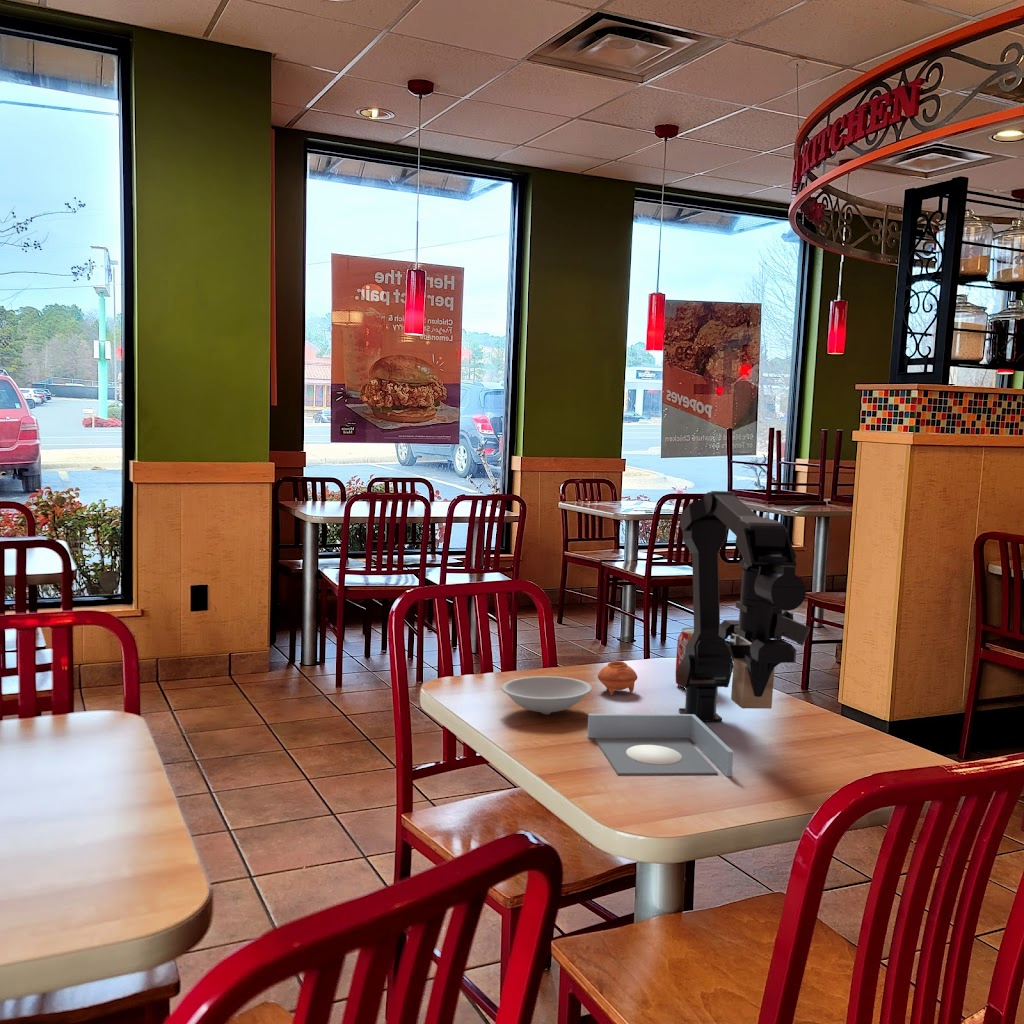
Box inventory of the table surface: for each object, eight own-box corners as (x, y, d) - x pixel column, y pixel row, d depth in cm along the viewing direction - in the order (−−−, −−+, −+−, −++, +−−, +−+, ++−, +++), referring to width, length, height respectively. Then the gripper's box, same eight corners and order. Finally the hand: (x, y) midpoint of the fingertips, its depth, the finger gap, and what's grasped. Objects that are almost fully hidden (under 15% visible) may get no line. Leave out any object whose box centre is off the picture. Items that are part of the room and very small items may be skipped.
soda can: (709, 693, 195) (712, 635, 194) (674, 689, 197) (677, 632, 196) (709, 684, 202) (712, 628, 201) (675, 681, 204) (678, 625, 203)
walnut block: (731, 699, 160) (733, 658, 159) (759, 699, 161) (762, 658, 160) (742, 708, 155) (745, 666, 154) (771, 708, 156) (774, 666, 155)
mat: (595, 740, 163) (595, 737, 163) (685, 740, 165) (685, 737, 165) (617, 775, 147) (618, 772, 147) (717, 774, 150) (717, 771, 150)
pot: (633, 699, 188) (626, 665, 188) (596, 702, 191) (590, 668, 191) (645, 688, 195) (639, 655, 195) (609, 691, 198) (603, 659, 198)
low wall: (587, 736, 165) (588, 713, 165) (692, 736, 168) (694, 714, 167) (613, 777, 146) (614, 752, 146) (731, 776, 149) (733, 751, 149)
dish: (526, 731, 167) (527, 703, 166) (485, 708, 179) (486, 681, 178) (607, 718, 176) (608, 691, 175) (562, 697, 188) (564, 672, 187)
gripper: (831, 610, 148) (824, 709, 149) (782, 589, 166) (775, 676, 168) (762, 609, 146) (755, 709, 148) (720, 587, 165) (714, 676, 166)
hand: (751, 691), depth 158 cm, fingers closed on walnut block, 5 cm apart
